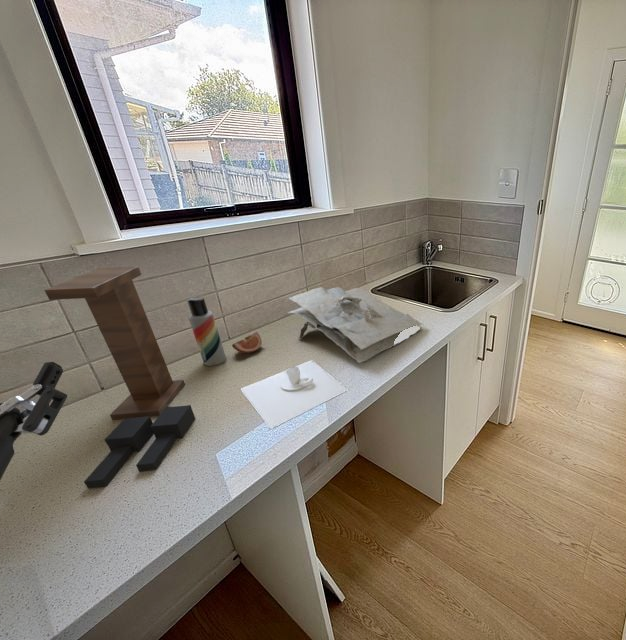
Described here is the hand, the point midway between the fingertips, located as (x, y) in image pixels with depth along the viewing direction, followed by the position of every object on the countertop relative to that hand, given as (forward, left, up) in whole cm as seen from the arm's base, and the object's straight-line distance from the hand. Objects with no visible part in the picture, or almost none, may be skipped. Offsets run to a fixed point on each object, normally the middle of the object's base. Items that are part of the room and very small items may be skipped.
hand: (21, 366), depth 49 cm
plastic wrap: (+68, +18, -27) cm, 75 cm away
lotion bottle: (+27, +32, -27) cm, 50 cm away
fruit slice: (+36, +31, -27) cm, 55 cm away
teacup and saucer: (+38, +3, -27) cm, 47 cm away
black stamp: (+4, +6, -26) cm, 27 cm away
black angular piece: (+11, +4, -26) cm, 29 cm away
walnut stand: (+10, +22, -26) cm, 36 cm away
